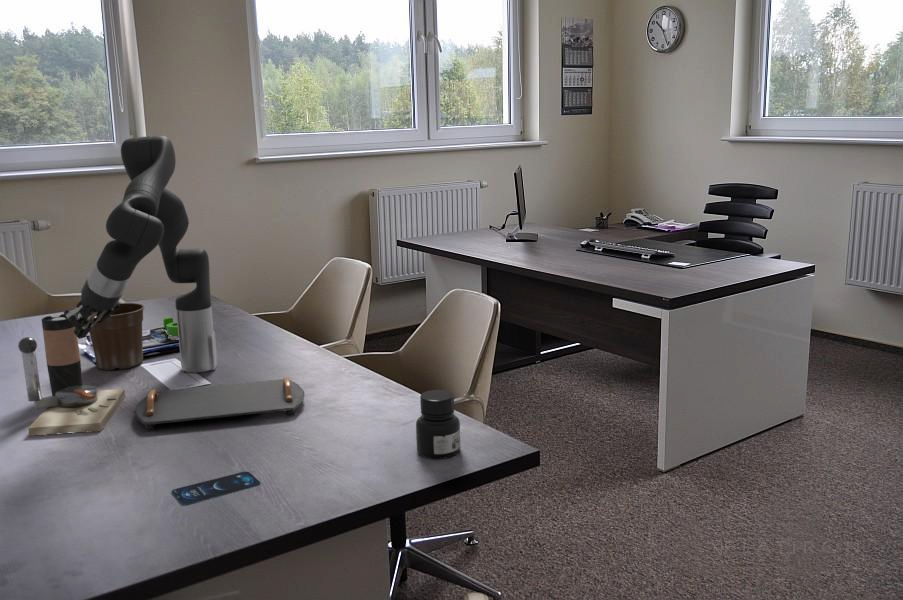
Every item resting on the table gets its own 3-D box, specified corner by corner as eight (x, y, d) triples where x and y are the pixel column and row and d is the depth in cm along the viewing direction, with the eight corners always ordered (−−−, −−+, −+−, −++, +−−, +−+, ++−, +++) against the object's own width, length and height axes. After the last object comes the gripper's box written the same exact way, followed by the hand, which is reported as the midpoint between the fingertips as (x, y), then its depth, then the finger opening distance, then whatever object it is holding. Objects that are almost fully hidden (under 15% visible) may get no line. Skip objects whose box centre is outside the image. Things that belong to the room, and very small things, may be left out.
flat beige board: (125, 396, 210) (124, 387, 209) (101, 431, 186) (99, 421, 186) (61, 400, 208) (60, 391, 207) (29, 436, 184) (28, 426, 184)
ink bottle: (444, 463, 165) (442, 406, 163) (407, 455, 170) (405, 398, 167) (469, 447, 173) (468, 391, 171) (433, 439, 178) (432, 385, 175)
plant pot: (75, 369, 233) (68, 313, 230) (118, 354, 248) (112, 300, 244) (121, 375, 227) (114, 317, 224) (162, 359, 242) (156, 304, 238)
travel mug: (71, 400, 208) (61, 321, 204) (44, 398, 209) (34, 320, 205) (90, 390, 215) (81, 314, 211) (64, 388, 217) (54, 313, 212)
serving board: (130, 437, 184) (127, 410, 183) (141, 403, 206) (139, 379, 205) (308, 418, 193) (307, 392, 192) (301, 387, 215) (299, 364, 214)
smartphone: (262, 484, 158) (182, 505, 150) (262, 486, 158) (182, 508, 150) (247, 470, 164) (169, 489, 156) (247, 473, 164) (170, 492, 156)
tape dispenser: (192, 339, 264) (191, 325, 263) (169, 342, 261) (167, 328, 260) (185, 329, 277) (184, 315, 276) (163, 331, 274) (161, 318, 273)
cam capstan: (112, 403, 198) (104, 332, 194) (45, 421, 187) (35, 346, 183) (87, 392, 206) (79, 324, 203) (22, 409, 196) (12, 337, 192)
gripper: (122, 263, 181) (95, 315, 190) (68, 276, 170) (42, 330, 179) (143, 289, 179) (114, 339, 188) (89, 303, 168) (61, 356, 177)
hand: (79, 335), depth 184 cm, fingers closed
